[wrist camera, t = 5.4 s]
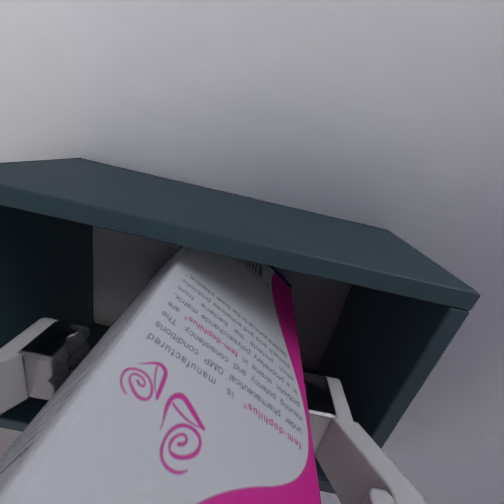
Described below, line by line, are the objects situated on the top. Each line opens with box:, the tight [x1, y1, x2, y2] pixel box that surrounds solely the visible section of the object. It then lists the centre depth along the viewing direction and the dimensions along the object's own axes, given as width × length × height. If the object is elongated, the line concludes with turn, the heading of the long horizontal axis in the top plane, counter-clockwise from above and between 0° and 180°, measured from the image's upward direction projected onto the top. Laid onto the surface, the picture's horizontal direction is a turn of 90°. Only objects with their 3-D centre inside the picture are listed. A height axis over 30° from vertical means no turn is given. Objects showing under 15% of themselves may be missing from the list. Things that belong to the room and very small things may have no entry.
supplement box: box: [0, 246, 321, 504], centre depth 9 cm, size 6×6×12 cm
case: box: [0, 158, 480, 494], centre depth 12 cm, size 15×10×6 cm
